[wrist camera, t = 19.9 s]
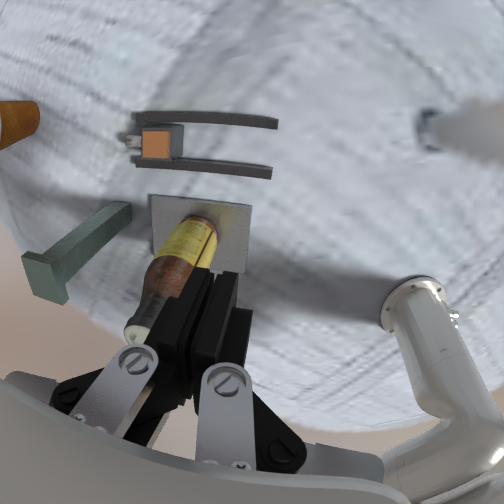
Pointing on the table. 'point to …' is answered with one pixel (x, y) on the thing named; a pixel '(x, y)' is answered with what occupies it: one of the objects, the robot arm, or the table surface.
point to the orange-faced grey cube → (158, 142)
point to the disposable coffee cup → (17, 121)
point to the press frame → (155, 215)
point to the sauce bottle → (171, 272)
